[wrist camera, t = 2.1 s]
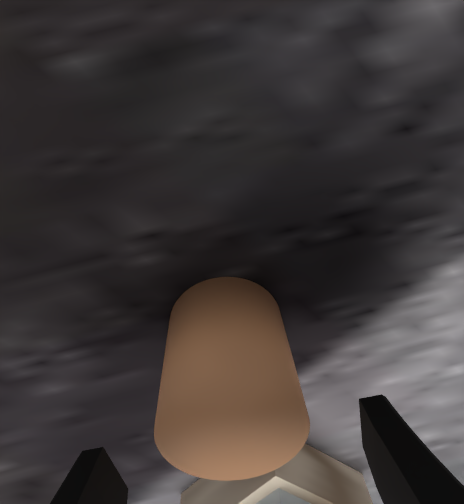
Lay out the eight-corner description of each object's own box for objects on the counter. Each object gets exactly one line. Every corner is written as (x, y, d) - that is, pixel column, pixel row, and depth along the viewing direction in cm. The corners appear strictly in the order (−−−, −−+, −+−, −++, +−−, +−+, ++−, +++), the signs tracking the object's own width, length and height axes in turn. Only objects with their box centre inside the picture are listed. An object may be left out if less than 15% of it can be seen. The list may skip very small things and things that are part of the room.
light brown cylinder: (147, 332, 15) (123, 445, 11) (217, 255, 14) (221, 351, 10) (232, 380, 17) (241, 496, 13) (303, 315, 15) (341, 422, 11)
